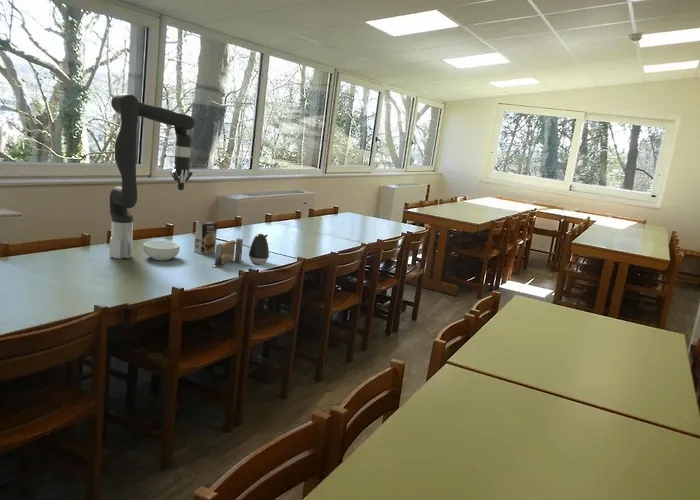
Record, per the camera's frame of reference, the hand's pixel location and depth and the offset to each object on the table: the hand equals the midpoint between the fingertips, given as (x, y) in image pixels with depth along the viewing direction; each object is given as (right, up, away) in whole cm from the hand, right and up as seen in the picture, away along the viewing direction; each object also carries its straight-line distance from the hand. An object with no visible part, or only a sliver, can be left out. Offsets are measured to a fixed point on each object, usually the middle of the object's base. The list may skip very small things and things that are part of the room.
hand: (180, 189), depth 273 cm
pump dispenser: (+39, -37, +3) cm, 54 cm away
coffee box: (+9, -32, +11) cm, 35 cm away
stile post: (+29, -37, -1) cm, 47 cm away
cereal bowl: (-6, -35, -11) cm, 37 cm away
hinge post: (+22, -38, -13) cm, 46 cm away
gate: (+24, -36, -5) cm, 44 cm away
